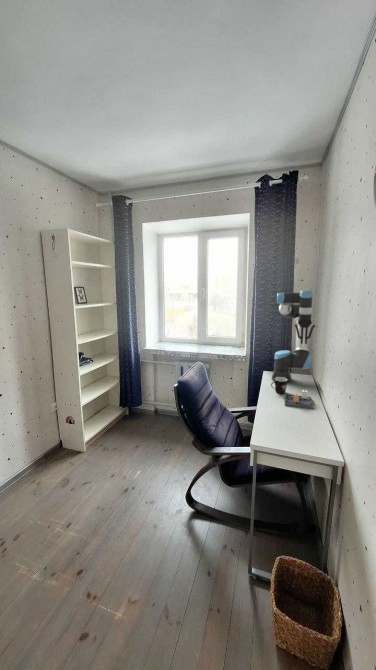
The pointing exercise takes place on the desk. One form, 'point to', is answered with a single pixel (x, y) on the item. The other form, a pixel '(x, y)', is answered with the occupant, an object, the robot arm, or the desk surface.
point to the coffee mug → (280, 385)
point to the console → (302, 402)
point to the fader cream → (304, 394)
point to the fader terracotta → (296, 397)
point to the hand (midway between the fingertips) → (303, 348)
